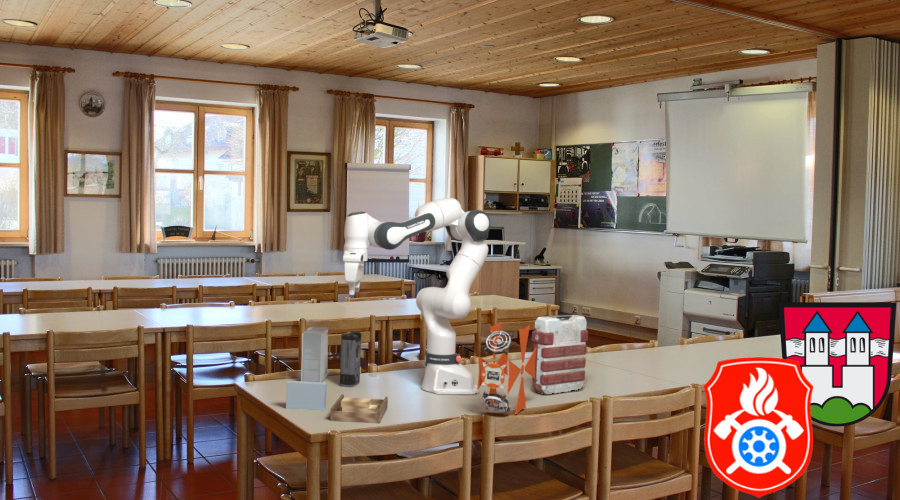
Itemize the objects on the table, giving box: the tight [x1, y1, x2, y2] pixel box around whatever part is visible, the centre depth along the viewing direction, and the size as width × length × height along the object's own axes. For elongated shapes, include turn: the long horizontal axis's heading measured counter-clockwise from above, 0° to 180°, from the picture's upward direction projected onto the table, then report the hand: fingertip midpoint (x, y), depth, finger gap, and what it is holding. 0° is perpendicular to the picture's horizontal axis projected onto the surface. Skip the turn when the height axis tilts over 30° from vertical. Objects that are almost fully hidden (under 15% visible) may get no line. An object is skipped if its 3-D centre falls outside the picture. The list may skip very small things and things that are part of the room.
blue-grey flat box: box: [285, 380, 328, 412], centre depth 267 cm, size 13×3×9 cm, turn 87°
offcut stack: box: [339, 396, 378, 413], centre depth 259 cm, size 13×5×6 cm, turn 87°
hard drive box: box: [300, 326, 329, 382], centre depth 312 cm, size 16×8×20 cm, turn 178°
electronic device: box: [339, 331, 362, 388], centre depth 307 cm, size 9×6×20 cm, turn 168°
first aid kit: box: [531, 314, 589, 395], centre depth 309 cm, size 23×8×30 cm, turn 126°
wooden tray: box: [329, 393, 389, 424], centre depth 263 cm, size 16×19×4 cm
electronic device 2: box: [477, 321, 537, 415], centre depth 276 cm, size 11×30×30 cm, turn 156°
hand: (354, 293), depth 290 cm, fingers open, 8 cm apart
